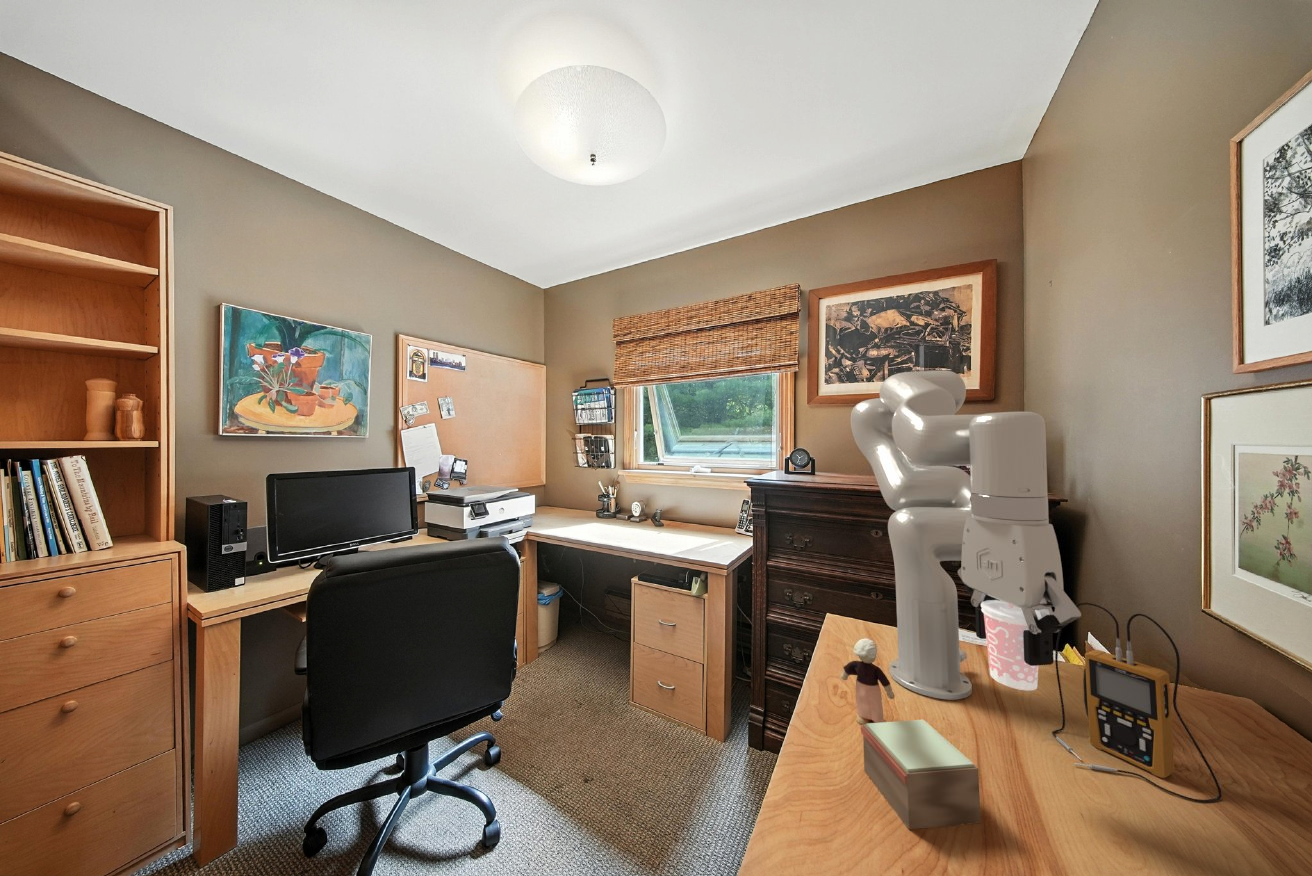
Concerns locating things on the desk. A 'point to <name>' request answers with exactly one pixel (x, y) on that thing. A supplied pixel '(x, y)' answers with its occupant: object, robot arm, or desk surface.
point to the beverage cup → (1008, 645)
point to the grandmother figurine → (868, 683)
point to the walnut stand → (921, 774)
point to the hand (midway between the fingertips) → (1012, 648)
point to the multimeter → (1130, 710)
